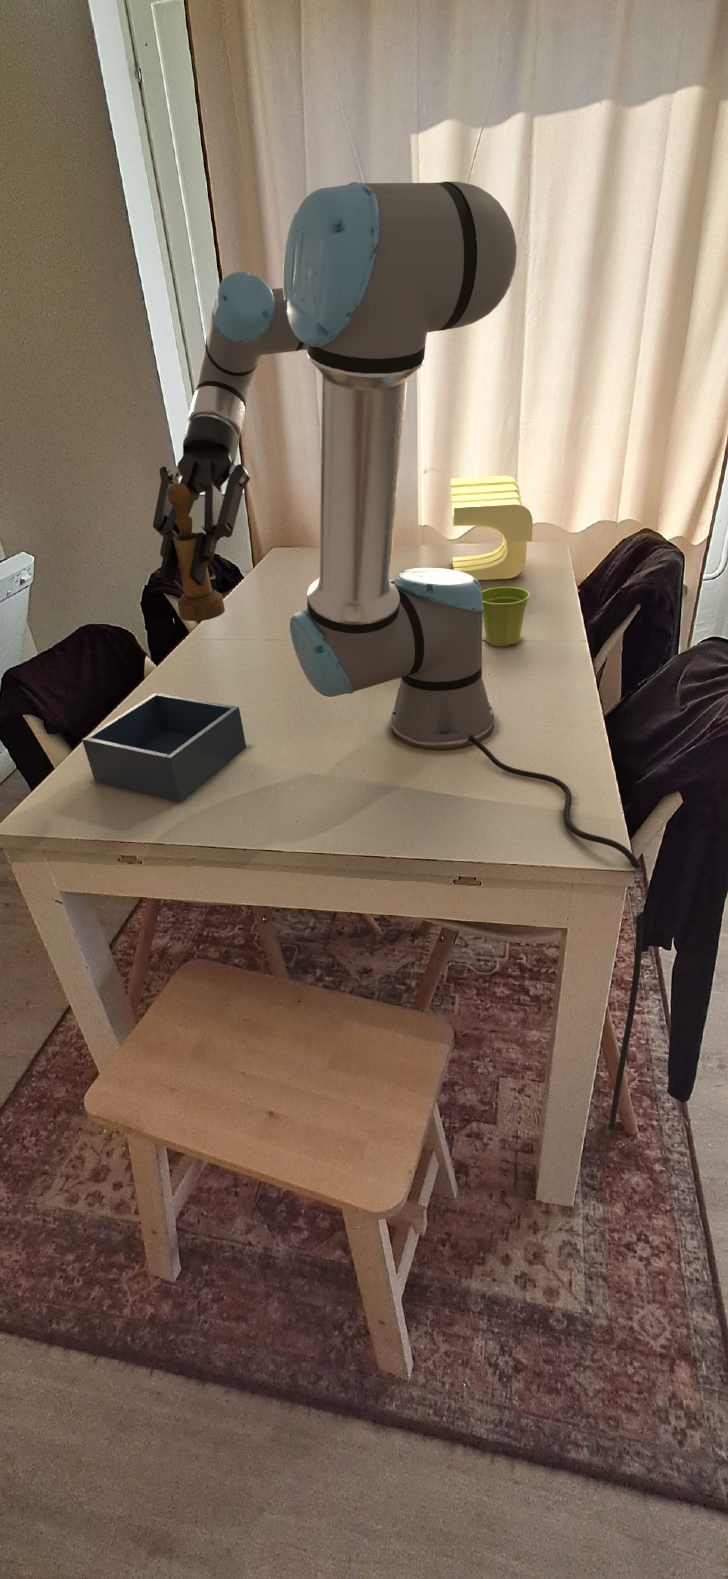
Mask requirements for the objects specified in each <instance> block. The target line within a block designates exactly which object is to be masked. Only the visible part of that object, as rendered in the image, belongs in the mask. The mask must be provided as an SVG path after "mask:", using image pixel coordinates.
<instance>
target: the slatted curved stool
mask: <svg viewBox="0 0 728 1579" xmlns="http://www.w3.org/2000/svg"><path fill="white" fill-rule="evenodd" d="M450 494H451V514H452V526H453V527H459V526H460V527H461V526H463V527H464V526H466V527H467V526H468V527H469V526H470V527H471V526H473V527H474V526H475V527H486V528H490V529H493V530H494V529H495V530H497V531H499V532H500V533H501V534H502V536H503V537H502V543H501V545H500V546H499V547H497V549H495V550H492V551H490V552H487V553H482V554H477V555H476V554H475V555H470V556H458V557H456V556H455V557H452V570H455V571H460V572H463V573H466V574H469V575H471V576H473V577H474V578H475V579H477V581H488V580H505V579H506V580H507V579H513V578H516V577H517V576H518V575H520V573H521V572H522V571H523V570H524V567H525V565H526V561H527V547H528V542H532V541H533V524H534V522H533V515H532V513H531V511H530V509H529V508H528V507H527V505H525V504H522V501H521V494H520V487H519V485H518V482H517V481H516V480H515V479H514V478H513V477H512V476H509V475H489V476H474V477H458V478H450Z"/></svg>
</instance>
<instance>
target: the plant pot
mask: <svg viewBox="0 0 728 1579" xmlns="http://www.w3.org/2000/svg"><path fill="white" fill-rule="evenodd" d="M481 591H482V602H483V608H484V611H483V612H482V622H483V627H484V636H485V641H486V643H489V644H490V645H491V646H493V647H508V646H509V645H516V644H518V643H519V642H520V638H521V634H522V627H523V621H524V615H525V609H526V607H527V604H528V600H530V598H531V593H530V592H529V590H526V589H524V588H520V587H515V586H497V587H491V588H487V589H483V590H481Z"/></svg>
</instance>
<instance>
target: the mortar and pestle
mask: <svg viewBox="0 0 728 1579" xmlns="http://www.w3.org/2000/svg"><path fill="white" fill-rule="evenodd" d="M167 497H168V500H169V502H170V503H171V504H172V506H173V507H174V508H175V509H176V512H177V518H176V519H175V521H176V524H177V527H178V529H179V531H180V533H181V534H180V535H177V536H175V537H174V538H173V540H174V545H175V549H176V554H177V558H178V563H179V564H178V567H179V572H180V577H181V582H182V586H183V588H182V589H183V593H182V595H181V596H180V598H178V600H177V607H178V612H179V618H180V619H182V620H184V621H186V622H187V621H188V622H203V621H209V620H212V619H215V618H217V617H220V616H222V615H223V614H225V611H226V608H225V602H224V597H223V595H222V593H221V592H218V591H217V590H215V589H214V588H212V584H211V579H210V574H209V568H208V566H207V569H206V574H205V579H204V583H203V585H197V584H196V583H195V582H194V581H193V580H192V579H191V578H190V577H189V573H190V568H191V564H192V559H193V554H194V550H195V545H196V541H197V536H198V533H199V532H193V517H192V516H190V514H189V515H188V513H187V507H188V504H189V500H190V492H189V490H188V488H187V487H186V486H185V485H184V484H181V483H180V482H179V483H176V484H172V485H171V486H170V487H169V488H168V490H167Z"/></svg>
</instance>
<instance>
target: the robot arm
mask: <svg viewBox="0 0 728 1579" xmlns="http://www.w3.org/2000/svg"><path fill="white" fill-rule="evenodd" d="M512 224H513V223H512V221H511V219H510V217H509V215H508V213H507V212H506V210H505V209H504V207H503V206H502V204H501V203H500V202H499V201H498V199H496V198H495V197H494V196H493V195H492V194H491V193H489V192H488V191H486V190H485V189H483V188H481V187H479V186H477V185H474V184H471V183H466V182H462V181H441V182H374V183H373V182H356V181H352V182H350V183H347V184H344V185H336V186H335V185H334V186H328V187H321V188H319V189H316V190H314V191H312V192H311V193H309V194H308V195H307V196H306V197H305V198H304V199H303V201H302V202H301V203H300V205H299V207H298V209H297V212H296V213H295V214H294V216H293V217H292V220H291V222H290V226H289V229H288V232H287V236H286V241H285V242H286V243H285V247H284V253H283V265H282V287H278V288H270V286H269V285H268V283H266V282H265V280H263V278H261V277H259V275H253V274H250V273H248V271H234V272H232V273H230V274H227V275H226V276H225V277H224V278H223V279H221V282H220V283H219V286H218V288H217V290H216V293H215V296H214V299H213V302H212V304H211V305H212V306H211V312H210V313H211V314H210V319H209V326H208V331H207V332H208V333H207V336H206V339H205V341H204V345H203V349H202V357H201V362H200V366H199V372H198V376H197V380H196V387H195V391H194V394H193V398H192V401H191V406H190V410H189V414H188V419H187V420H188V422H187V424H186V428H185V433H184V436H183V442H182V455H181V458H180V459H179V460H178V462H177V465H176V466H174V467H170V468H168V467H167V466H161V467H160V468H159V477H160V485H159V491H158V496H157V502H156V505H155V506H156V507H155V512H154V515H153V516H154V517H153V522H152V527H153V529H154V530H155V531H156V532H157V533H158V534H159V535H160V536H161V537H162V541H161V546H160V550H159V554H160V555H159V556H161V558H162V562H161V566H160V569H159V574H158V576H159V577H160V578H161V579H162V580H163V581H165V582H166V584H168V585H169V586H174V585H175V581H176V578H177V572H178V567H179V563H178V558H177V554H176V549H175V545H174V540H173V538H174V537H175V536H177V535H180V534H181V533H180V531H179V529H178V527H177V524H176V521H175V519H176V518H177V512H176V509H175V508H174V507H173V506H172V504H171V503H170V502H169V500H168V497H167V490H168V488H169V487H170V486H171V485H172V484H176V483H181V484H184V485H185V486H186V487H187V488H188V490H189V492H190V500H189V504H188V507H187V513H188V515H189V516H190V514H191V510H192V508H193V506H194V503H195V501H198V500H199V497H200V495H201V494H202V493H204V516H203V517H204V518H203V520H204V521H203V522H204V523H203V524H204V525H203V526H201V529H202V530H203V531H204V532H205V533H204V532H200V531H199V532H197V533H198V536H197V541H196V545H195V550H194V554H193V559H192V564H191V568H190V573H189V577H190V578H191V579H192V580H193V581H194V582H195V583H196V584H197V585H203V583H204V579H205V574H206V569H207V567H208V564H209V562H212V561H213V560H214V558H215V553H216V548H217V545H218V542H219V540H220V539H222V538H224V537H225V538H231V537H232V535H233V533H234V529H235V525H236V521H237V517H238V513H239V510H240V504H241V501H242V497H243V493H244V489H245V488H246V486H247V485H248V483H249V481H250V479H251V476H250V474H249V473H248V471H247V470H246V468H245V467H244V465H243V464H242V463H238V464H235V462H236V459H237V454H238V448H239V445H240V438H241V434H242V430H243V425H244V421H245V420H244V419H245V415H246V411H247V403H248V401H249V396H250V391H251V387H252V383H253V380H254V376H255V372H256V369H257V366H258V365H259V362H260V359H261V356H264V355H274V354H283V353H291V352H299V351H306V355H307V358H308V360H309V361H310V362H311V363H312V365H314V367H315V368H316V369H317V370H318V371H319V372H320V373H321V437H320V438H321V441H320V442H321V446H320V450H321V451H320V515H319V516H320V520H319V521H320V522H319V524H320V526H319V527H320V529H319V530H320V531H319V577H318V578H317V579H316V580H314V581H312V583H311V584H310V586H309V587H308V589H307V596H306V599H307V600H306V603H307V604H306V610H298V612H296V613H294V614H293V615H292V616H291V618H290V621H289V631H290V638H291V641H292V645H293V649H294V652H295V655H296V658H297V660H298V662H299V665H300V668H301V670H302V671H303V674H304V675H305V677H306V679H307V680H308V682H309V684H310V685H311V686H312V687H313V688H314V690H315V691H316V692H317V693H319V694H320V695H322V696H324V697H328V698H330V697H331V698H332V697H337V696H342V695H343V696H344V695H348V694H349V695H352V694H353V693H354V692H358V691H361V690H364V689H367V688H371V687H374V686H377V685H380V684H384V683H387V682H391V681H394V680H397V679H400V683H399V687H398V690H397V694H396V697H395V703H394V707H393V709H392V711H391V717H390V725H391V727H390V728H391V733H392V735H393V736H394V737H395V739H396V740H398V741H399V742H400V743H402V744H404V745H406V746H408V747H410V748H414V749H418V750H423V751H431V752H433V751H434V752H448V751H458V750H463V749H467V748H469V747H473V746H475V747H477V748H478V749H479V750H480V752H482V753H483V754H484V755H485V756H486V757H487V758H488V759H489V760H490V761H491V763H492V764H494V765H495V766H496V767H498V768H499V769H501V770H503V771H505V772H508V773H510V774H512V775H516V776H521V777H526V778H531V779H538V780H543V781H546V782H549V783H551V784H554V785H556V786H557V787H559V788H560V789H561V790H562V791H563V793H564V795H565V801H564V806H563V813H562V814H563V815H562V817H563V821H564V824H565V826H566V827H567V828H568V830H569V831H570V832H571V833H573V834H574V835H575V836H577V837H579V838H581V839H583V840H587V841H590V842H594V843H597V844H602V845H604V846H608V847H611V848H613V849H616V850H617V851H618V852H620V853H621V854H623V855H624V856H625V857H626V858H627V859H628V861H629V862H630V864H631V866H632V867H634V868H636V869H639V868H641V865H640V863H639V861H638V860H637V857H636V856H635V855H634V854H633V853H632V851H630V850H629V849H628V848H627V847H626V846H624V845H623V844H621V843H619V842H618V841H615V840H613V839H610V838H607V837H603V836H599V835H597V834H596V835H595V834H592V833H587V832H585V831H583V830H581V829H578V827H577V826H575V824H574V823H573V822H572V820H571V815H570V813H571V807H572V803H573V801H572V800H573V797H572V796H573V794H572V792H571V789H570V788H569V786H567V784H565V782H563V781H562V780H560V779H558V778H556V777H554V776H551V775H548V774H544V773H539V772H533V771H528V770H523V769H518V768H515V767H512V766H509V765H506V764H505V763H503V762H502V761H500V760H499V759H498V758H497V757H496V756H495V755H494V754H493V753H492V752H491V751H490V750H489V749H488V748H487V747H486V746H485V745H484V744H483V743H482V742H484V741H485V740H486V739H487V738H489V737H490V735H491V734H492V733H493V731H494V730H495V729H494V728H495V715H494V714H495V713H494V709H493V706H492V704H491V703H490V702H489V698H488V694H487V690H486V686H485V683H484V681H483V680H484V679H483V615H482V612H483V611H484V608H483V602H482V591H483V590H482V585H481V582H479V580H477V579H475V578H474V577H473V576H471V575H469V574H466V573H463V572H460V571H455V570H453V569H449V568H441V567H416V568H415V567H414V568H408V569H404V570H401V571H400V572H398V573H397V574H396V575H395V580H394V582H393V583H394V584H393V583H392V582H391V581H390V579H391V569H392V568H391V566H392V555H393V544H394V535H395V534H394V533H395V532H394V531H395V521H396V511H397V499H398V498H397V497H398V488H399V487H398V486H399V478H400V477H399V476H400V462H401V454H402V443H403V442H402V441H403V431H404V430H403V429H404V417H405V407H406V397H407V395H406V394H407V385H408V384H407V383H408V380H409V379H410V377H411V376H412V375H413V374H415V373H416V372H417V371H418V370H419V369H421V368H422V366H423V365H424V361H425V353H426V344H427V336H428V333H432V332H433V333H434V332H440V331H441V332H442V331H447V330H454V329H460V328H463V327H466V326H469V325H473V324H475V323H476V322H479V321H480V320H482V319H484V318H485V317H487V316H489V314H491V313H492V312H493V311H494V310H495V309H496V308H497V307H498V306H499V305H500V304H501V302H502V301H503V300H504V298H505V296H506V294H507V293H508V291H509V289H510V287H511V284H512V282H513V278H514V276H515V272H516V266H517V252H518V251H517V248H518V246H517V240H516V233H515V231H514V226H513V225H512ZM180 477H181V479H180ZM225 483H226V487H225V491H224V495H223V486H224V484H225ZM221 499H222V502H221ZM643 934H644V911H641V912H640V913H639V914H638V915H637V916H636V917H635V947H634V961H633V970H632V978H631V979H632V980H631V988H630V996H629V1002H628V1008H627V1014H626V1021H625V1025H624V1026H625V1028H624V1033H623V1038H622V1043H621V1050H620V1055H619V1061H618V1067H617V1072H616V1077H615V1084H614V1090H613V1095H612V1096H613V1097H612V1103H611V1109H610V1116H609V1122H608V1128H609V1130H611V1131H613V1130H615V1127H616V1121H617V1113H618V1106H619V1101H620V1100H619V1099H620V1095H621V1089H622V1088H621V1087H622V1082H623V1077H624V1072H625V1067H626V1060H627V1055H628V1050H629V1046H630V1045H629V1044H630V1040H631V1034H632V1028H633V1022H634V1017H635V1010H636V1005H637V998H638V991H639V983H640V975H641V966H642V954H643V937H644V936H643Z"/></svg>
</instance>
